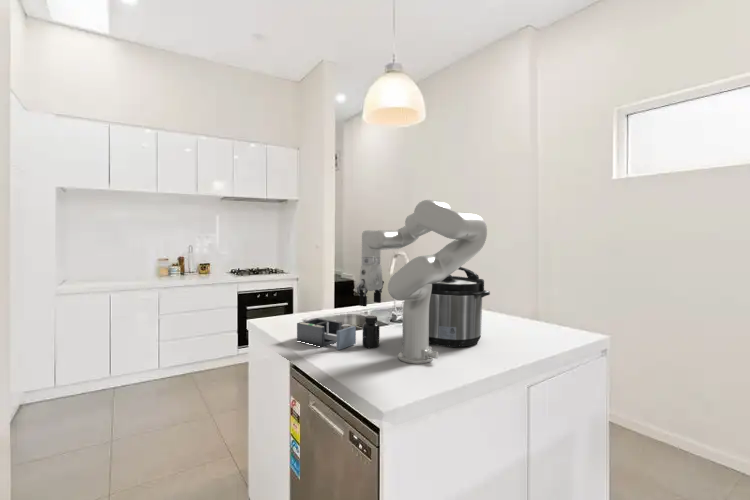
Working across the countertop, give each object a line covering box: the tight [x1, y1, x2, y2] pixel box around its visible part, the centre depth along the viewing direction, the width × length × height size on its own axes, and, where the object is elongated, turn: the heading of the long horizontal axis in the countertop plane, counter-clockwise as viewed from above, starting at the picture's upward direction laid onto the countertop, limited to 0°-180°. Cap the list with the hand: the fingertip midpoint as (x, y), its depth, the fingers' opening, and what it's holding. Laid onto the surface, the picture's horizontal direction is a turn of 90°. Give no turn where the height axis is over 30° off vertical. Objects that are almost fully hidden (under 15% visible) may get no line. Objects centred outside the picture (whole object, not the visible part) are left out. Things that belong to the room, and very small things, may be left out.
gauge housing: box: [296, 317, 343, 348], centre depth 162 cm, size 14×12×8 cm
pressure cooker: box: [429, 266, 491, 348], centre depth 166 cm, size 30×28×32 cm
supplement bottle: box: [361, 315, 381, 349], centre depth 156 cm, size 7×7×12 cm
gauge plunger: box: [315, 321, 357, 351], centre depth 156 cm, size 13×12×9 cm
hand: (370, 304), depth 155 cm, fingers open, 9 cm apart
